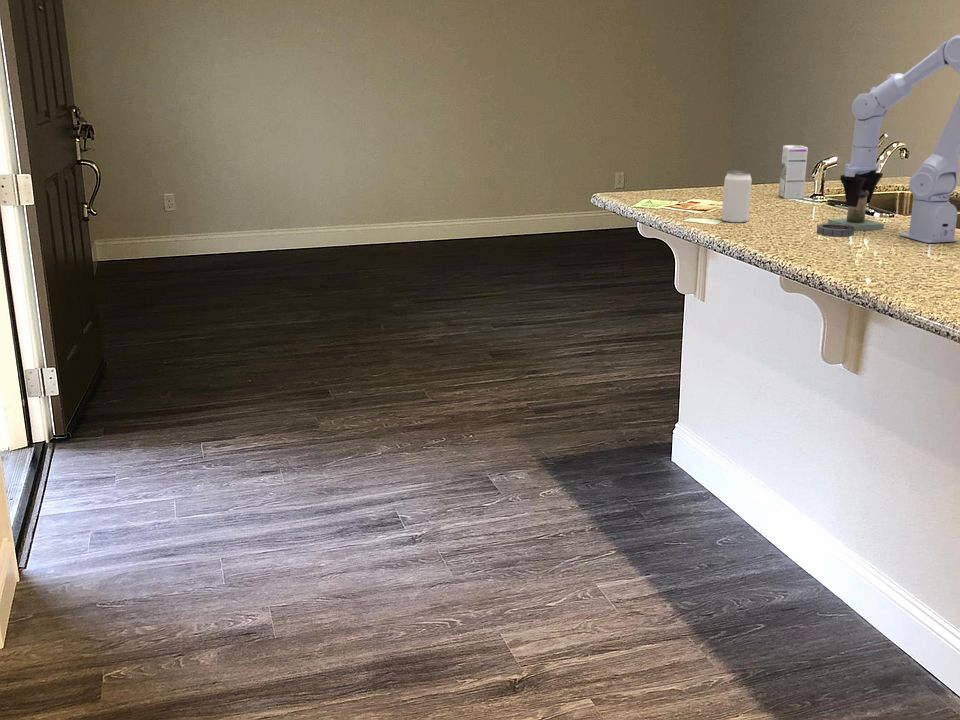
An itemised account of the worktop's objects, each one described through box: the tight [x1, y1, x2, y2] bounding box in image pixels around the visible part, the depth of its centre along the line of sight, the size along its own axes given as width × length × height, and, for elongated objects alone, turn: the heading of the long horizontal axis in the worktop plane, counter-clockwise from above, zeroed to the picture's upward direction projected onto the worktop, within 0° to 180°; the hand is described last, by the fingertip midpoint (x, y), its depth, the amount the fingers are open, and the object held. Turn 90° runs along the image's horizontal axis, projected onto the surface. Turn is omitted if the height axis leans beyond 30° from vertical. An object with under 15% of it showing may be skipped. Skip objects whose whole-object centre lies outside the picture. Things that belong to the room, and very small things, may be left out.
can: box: [721, 170, 753, 224], centre depth 241 cm, size 6×6×12 cm
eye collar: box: [816, 223, 855, 238], centre depth 227 cm, size 8×8×2 cm
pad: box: [827, 217, 885, 232], centre depth 235 cm, size 9×9×1 cm
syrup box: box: [778, 144, 809, 200], centre depth 276 cm, size 6×6×14 cm
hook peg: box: [846, 190, 869, 223], centre depth 234 cm, size 5×5×8 cm
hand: (858, 204), depth 234 cm, fingers open, 7 cm apart
